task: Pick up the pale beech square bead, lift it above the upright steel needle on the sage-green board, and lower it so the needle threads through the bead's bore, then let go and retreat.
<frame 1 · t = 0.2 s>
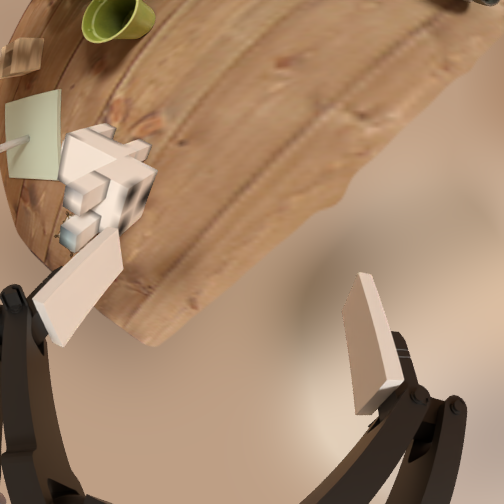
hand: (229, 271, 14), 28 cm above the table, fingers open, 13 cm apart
game die: (89, 223, 48), on the table
bead: (32, 57, 30), on the table
toy llama: (127, 156, 40), on the table
plant pot: (139, 23, 28), on the table
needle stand: (31, 137, 39), on the table
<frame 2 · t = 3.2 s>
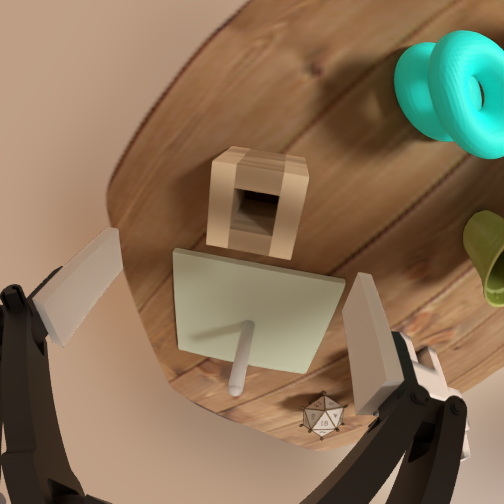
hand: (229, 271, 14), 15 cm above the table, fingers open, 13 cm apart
game die: (323, 397, 45), on the table
bead: (263, 185, 27), on the table
toy llama: (406, 356, 37), on the table
plant pot: (478, 231, 25), on the table
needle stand: (249, 319, 36), on the table
donuts: (433, 91, 19), on the table
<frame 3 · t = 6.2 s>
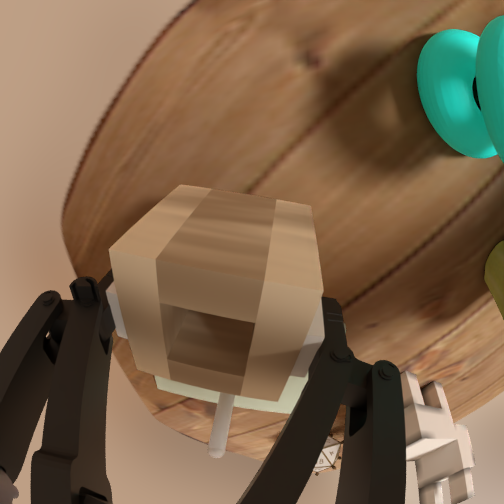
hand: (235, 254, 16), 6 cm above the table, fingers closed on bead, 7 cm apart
game die: (318, 431, 39), on the table
bead: (236, 251, 16), point 5 cm above the table, touching gripper
toy llama: (409, 392, 32), on the table
plant pot: (501, 261, 20), on the table
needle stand: (233, 364, 30), on the table
donuts: (462, 92, 13), on the table
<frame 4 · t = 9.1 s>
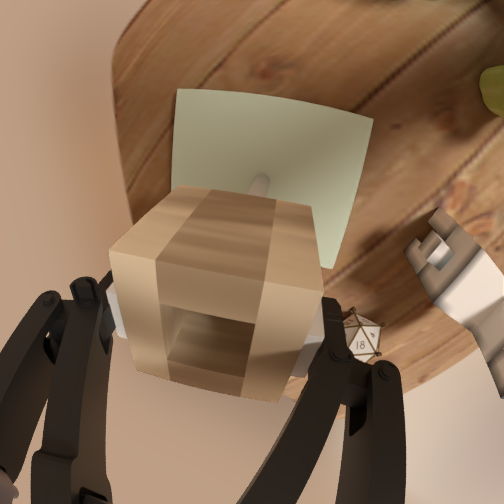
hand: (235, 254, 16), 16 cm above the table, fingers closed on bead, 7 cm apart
game die: (351, 320, 38), on the table
bead: (236, 251, 16), point 15 cm above the table, touching gripper
toy llama: (447, 252, 30), on the table
plant pot: (493, 91, 18), on the table
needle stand: (262, 178, 29), on the table
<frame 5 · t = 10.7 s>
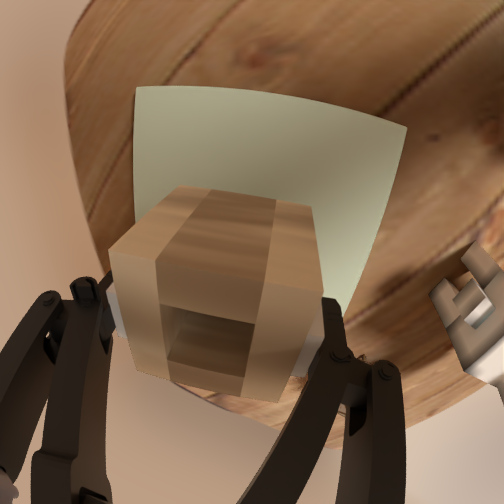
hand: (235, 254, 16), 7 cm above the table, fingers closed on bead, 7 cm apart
bead: (236, 251, 16), point 7 cm above the table, touching gripper
toy llama: (476, 291, 23), on the table
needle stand: (253, 207, 22), on the table
when the fingers open (3 cm above the table, at t = 12.2 s): bead drops 2 cm, resting on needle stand.
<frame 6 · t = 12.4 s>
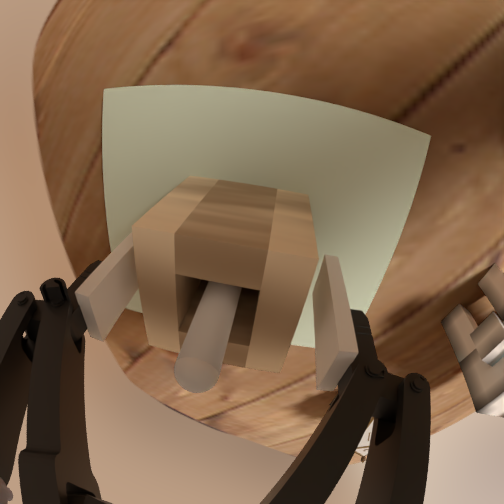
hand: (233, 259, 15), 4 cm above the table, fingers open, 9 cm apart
game die: (362, 394, 27), on the table
bead: (241, 236, 17), point 1 cm above the table, touching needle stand
toy llama: (490, 315, 20), on the table
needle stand: (243, 230, 18), on the table
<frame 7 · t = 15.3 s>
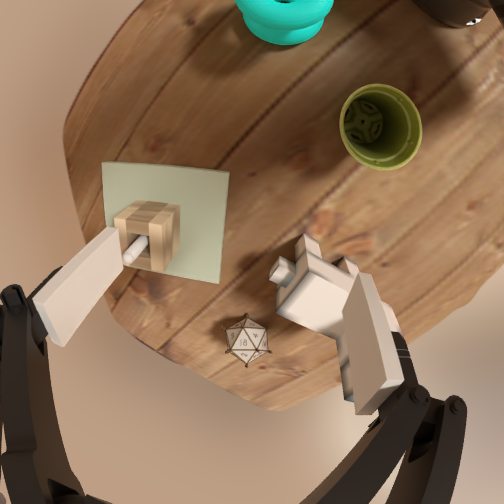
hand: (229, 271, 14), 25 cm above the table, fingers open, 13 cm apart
game die: (249, 323, 50), on the table
bead: (158, 223, 40), point 1 cm above the table, touching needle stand
toy llama: (323, 269, 43), on the table
plant pot: (360, 122, 31), on the table
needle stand: (161, 221, 41), on the table
donuts: (283, 15, 25), on the table
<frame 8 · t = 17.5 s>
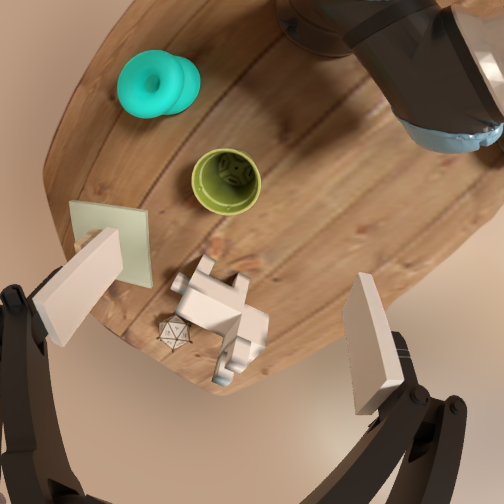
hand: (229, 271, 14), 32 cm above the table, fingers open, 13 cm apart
game die: (179, 319, 63), on the table
bead: (107, 244, 53), point 1 cm above the table, touching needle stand
toy llama: (224, 281, 55), on the table
plant pot: (237, 167, 43), on the table
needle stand: (110, 242, 54), on the table
donuts: (173, 85, 37), on the table
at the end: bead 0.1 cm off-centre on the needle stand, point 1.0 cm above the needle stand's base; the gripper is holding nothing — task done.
